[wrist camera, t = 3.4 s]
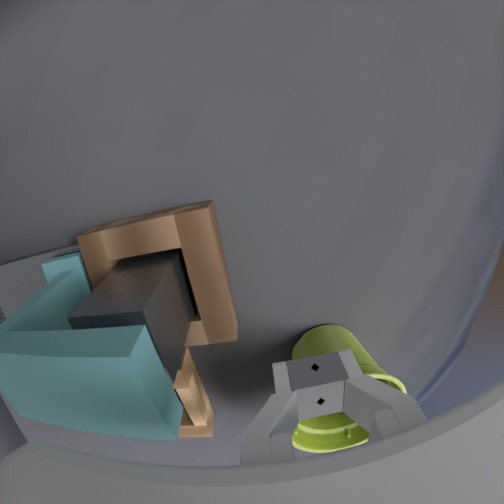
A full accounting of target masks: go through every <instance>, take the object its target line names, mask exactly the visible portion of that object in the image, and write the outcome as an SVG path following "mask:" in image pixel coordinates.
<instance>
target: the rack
mask: <svg viewBox="0 0 504 504" xmlns="http://www.w3.org/2000/svg"><path fill="white" fill-rule="evenodd" d="M172 387H173V389H176V391H177V393H178V395H179V397H180V399H181V401H180V403H181V405H182V406H183V412H182V417H181V423H180V428H179V433H178V437H212V434H213V423H214V410H213V408H212V405H211V403H210V401H209V398H208V396H207V393H206V391H205V389H204V386H203V384H202V381H201V379H200V376H199V373H198V371H197V368H196V366H195V363H194V360H193V358H192V355H191V352H190V350H189V347H188V346H187V347H184V349H183V353H182V356H181V360H180V363H179V367H178V371H177V374H176V378H175V382H174V385H172Z"/></svg>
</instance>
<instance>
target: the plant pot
mask: <svg viewBox="0 0 504 504" xmlns="http://www.w3.org/2000/svg"><path fill="white" fill-rule="evenodd" d="M347 348H349V349H351V351H352V353H353V355H354V357H355V359H356V361H357V363H358V365H359V367H360V369H361V371H362V373H363V375H369V376H371V377H373V378H375V379H377V380H379V381H381V382H383V383H385V384H387V385H389V386H391V387H393V388H395V389H397V390H399V391H401V392H403V393H405V394H406V389H405V387H404V385H403V384H402V383H401V381H399V380H398V379H397V378H395V377H394V376H392V375H389V374H388V373H387V372H385V371H384V370H383V369H381V368H380V367H379V366H378V365H377V364H376V363H375V361H374V360H373V359H372V358H371V356H370V355H369V354H368V353H367V351H366V350H365V349H364V348H363V347H362V345H361V344H360V343H359V342H358V340H357V339H356V338H355V337H354V335H353V334H352V333H351V332H350V331H349V330H347V329H345V328H343V327H340V326H338V325H330V324H329V325H322V326H318V327H315V328H313V329H311V330H309V331H308V332H306V333H305V334H304V335H303V336H302V337H301V338H300V340H299V341H298V342H297V343H296V345H295V346H294V347H293V350H292V360H296V359H302V358H308V357H313V356H318V355H323V354H327V353H332V352H337V351H339V350H344V349H347ZM369 434H370V433H369V432H368V431H366V430H365V429H364V428H362V427H361V426H360V425H358V424H357V423H356V422H355V421H353V420H352V419H351V418H349V417H348V416H347V415H346V414H344V413H343V411H342V412H338V413H333V414H328V415H323V416H318V417H314V418H309V419H305V420H300V421H299V423H298V425H297V427H296V429H295V431H294V433H293V435H292V443H293V446H294V447H296V448H298V449H300V450H304V451H308V452H317V453H323V452H333V451H337V450H341V449H345V448H349V447H353V446H357V445H360V444H362V443H364V442H366V441H368V437H369Z"/></svg>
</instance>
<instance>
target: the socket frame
mask: <svg viewBox="0 0 504 504" xmlns="http://www.w3.org/2000/svg"><path fill="white" fill-rule="evenodd" d="M76 238H77V241H78V243H76V244H72V245H68V246H64V247H60V248H56V249H52V250H49V251H45V252H41V253H37V254H34V255H30V256H26V257H23V258H19V259H16V260H12V261H9V262H5V263H2V264H0V307H1V309H2V311H3V313H4V315H5V318H6V319H7V318H8V317H9V316H10V315H11V314H12V313H13V312H15V311H16V310H17V309H18V308H19V307H20V306H21V305H23V304H24V303H25V302H26V301H27V300H28V299H30V298H31V297H32V296H33V295H34V294H35V293H37V292H38V291H39V290H40V289H41V288H43V287H44V286H45V285H46V284H48V282H47V279H46V277H45V274H44V271H43V268H42V265H41V264H42V263H44V262H45V261H47V260H48V259H51V258H56V257H60V256H64V255H68V254H73V253H77V252H81V254H82V257H83V260H84V263H85V266H86V269H87V272H88V275H89V278H90V280H91V283H92V286H93V289H94V288H95V287H96V286H97V285H98V284H99V283H100V282H101V281H102V280H103V279H104V278H105V277H106V276H107V275H108V274H109V273H110V272H111V271H112V270H113V269H114V268H115V267H116V266H117V265H118V264H119V263H120V262H121V261H122V260H124V259H125V258H127V257H132V256H137V255H143V254H148V253H154V252H159V251H165V250H170V249H176V248H182V252H183V256H184V260H185V264H186V267H187V271H188V275H189V279H190V282H191V286H192V290H193V293H194V297H195V300H196V307H195V311H194V314H193V317H192V321H191V324H190V328H189V331H188V335H187V338H186V342H185V345H184V347H187V346H197V345H207V344H216V343H224V342H232V341H237V336H238V317H237V313H236V308H235V304H234V299H233V295H232V290H231V286H230V281H229V277H228V272H227V268H226V263H225V258H224V254H223V249H222V244H221V239H220V234H219V230H218V225H217V220H216V215H215V210H214V205H213V200H211V201H206V202H201V203H196V204H191V205H186V206H181V207H176V208H171V209H167V210H162V211H157V212H153V213H148V214H144V215H140V216H135V217H131V218H127V219H123V220H119V221H115V222H110V223H106V224H103V225H99V226H95V227H93V228H91V229H90V230H88V231H86V232H84V233H83V234H81V235H79V236H77V237H76Z"/></svg>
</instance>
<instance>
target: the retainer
mask: <svg viewBox="0 0 504 504" xmlns="http://www.w3.org/2000/svg"><path fill="white" fill-rule="evenodd" d="M41 265H42V268H43V271H44V274H45V277H46V279H47V282H48V284H46V285H45V286H44V287H43V288H41V289H40V290H39V291H38V292H37V293H35V294H34V295H33V296H32V297H31V298H30V299H28V300H27V301H26V302H25V303H24V304H23V305H21V306H20V307H19V308H18V309H17V310H16V311H15V312H13V313H12V314H11V315H10V316H9V317H8V318H7V319H6V320H5V321H4V322H3V323H1V324H0V390H1V391H2V393H3V394H4V395H5V397H6V398H7V400H8V401H9V402H10V404H11V405H12V406H13V407H14V409H15V410H16V411H17V413H18V414H19V415H21V416H24V417H27V418H30V419H34V420H37V421H41V422H45V423H49V424H53V425H57V426H61V427H65V428H70V429H75V430H80V431H86V432H91V433H97V434H104V435H111V436H119V437H129V438H140V439H154V440H177V438H178V433H179V428H180V423H181V417H182V412H183V406H182V405H181V403H180V401H179V399H178V397H177V395H176V393H175V391H174V389H173V387H172V385H171V383H170V380H169V378H168V376H167V374H166V372H165V370H164V368H163V365H162V363H161V361H160V359H159V357H158V354H157V352H156V350H155V347H154V345H153V343H152V340H151V338H150V335H149V333H148V331H147V328H146V326H145V325H135V326H123V327H110V328H95V329H78V330H73V329H72V327H71V325H70V323H69V321H68V319H67V317H68V316H69V315H70V314H71V313H72V312H73V311H74V310H75V308H76V307H77V306H78V305H79V304H80V303H81V302H82V301H83V300H84V299H85V298H86V297H87V296H88V295H89V294H90V293H91V292H92V290H93V286H92V283H91V280H90V278H89V275H88V272H87V269H86V266H85V263H84V260H83V257H82V254H81V252H77V253H73V254H68V255H64V256H60V257H56V258H51V259H48V260H47V261H45V262H44V263H42V264H41Z"/></svg>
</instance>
